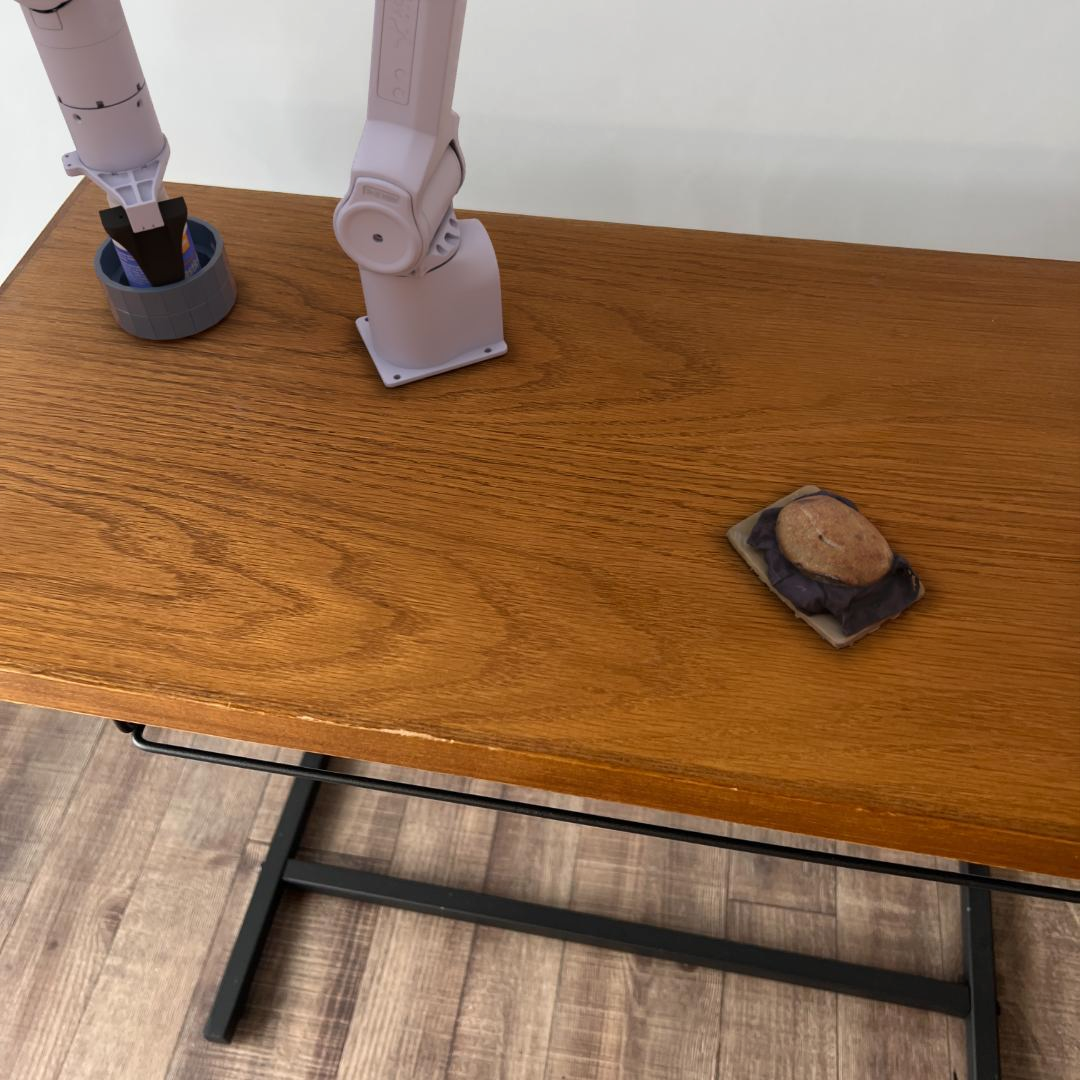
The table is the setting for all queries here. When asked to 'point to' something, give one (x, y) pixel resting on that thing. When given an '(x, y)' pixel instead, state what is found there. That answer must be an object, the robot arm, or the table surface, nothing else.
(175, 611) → the table surface
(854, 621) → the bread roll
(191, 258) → the pill bottle
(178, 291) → the bowl
